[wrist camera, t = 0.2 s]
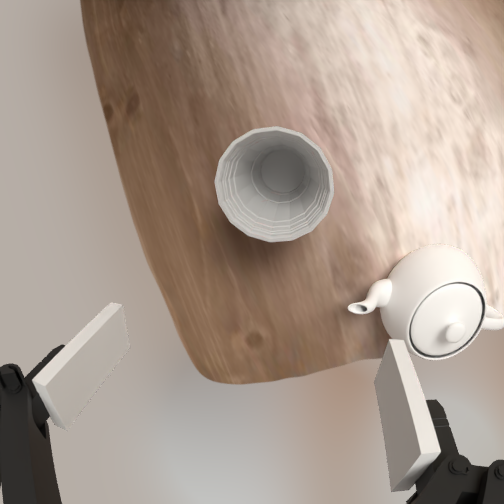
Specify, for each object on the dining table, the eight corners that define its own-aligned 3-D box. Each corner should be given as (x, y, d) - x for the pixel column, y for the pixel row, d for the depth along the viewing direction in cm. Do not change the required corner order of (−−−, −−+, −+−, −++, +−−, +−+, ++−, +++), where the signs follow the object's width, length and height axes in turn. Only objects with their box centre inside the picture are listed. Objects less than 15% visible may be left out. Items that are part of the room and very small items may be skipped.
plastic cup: (237, 210, 41) (211, 239, 30) (241, 127, 38) (215, 123, 26) (321, 219, 40) (327, 251, 29) (329, 134, 36) (340, 132, 25)
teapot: (500, 253, 37) (544, 287, 25) (465, 340, 42) (493, 387, 31) (353, 217, 39) (371, 247, 28) (326, 320, 45) (330, 375, 33)
